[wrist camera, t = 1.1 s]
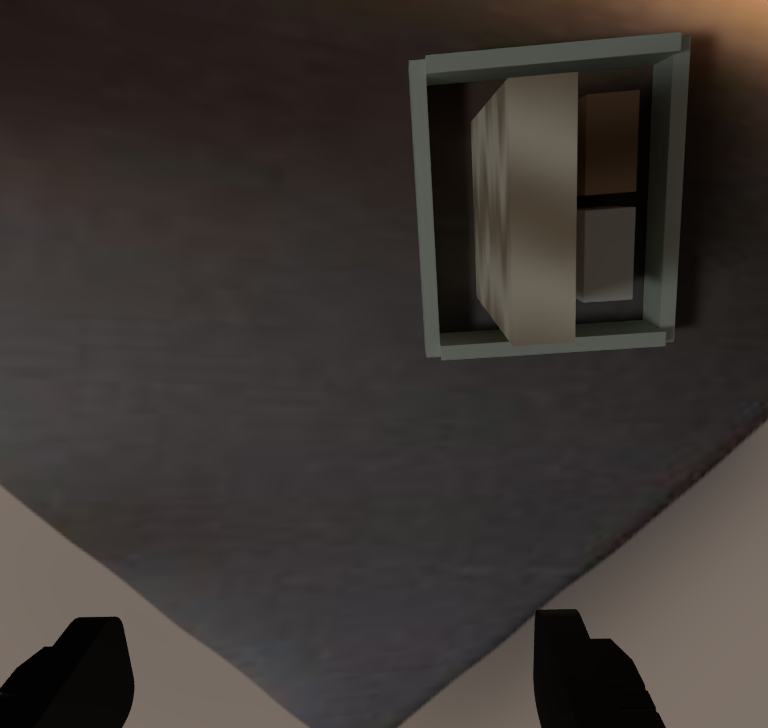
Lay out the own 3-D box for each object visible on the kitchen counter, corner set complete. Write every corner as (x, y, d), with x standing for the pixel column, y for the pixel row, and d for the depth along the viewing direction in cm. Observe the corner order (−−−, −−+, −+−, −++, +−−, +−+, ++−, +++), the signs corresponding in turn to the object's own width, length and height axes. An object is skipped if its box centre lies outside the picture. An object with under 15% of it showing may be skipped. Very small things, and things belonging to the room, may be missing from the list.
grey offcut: (559, 209, 41) (585, 210, 36) (603, 205, 41) (635, 207, 35) (559, 288, 43) (583, 302, 37) (601, 285, 43) (632, 299, 37)
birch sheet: (470, 122, 40) (507, 78, 26) (515, 118, 40) (578, 71, 25) (476, 297, 43) (512, 346, 29) (518, 294, 43) (575, 342, 29)
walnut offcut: (560, 109, 40) (586, 94, 34) (605, 105, 39) (639, 89, 34) (559, 196, 41) (585, 195, 35) (603, 192, 41) (636, 191, 35)
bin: (408, 70, 39) (408, 56, 35) (669, 47, 38) (699, 30, 34) (425, 347, 44) (426, 361, 40) (656, 332, 43) (680, 345, 39)
